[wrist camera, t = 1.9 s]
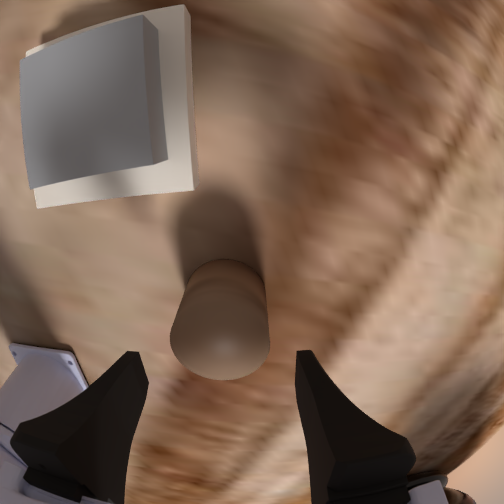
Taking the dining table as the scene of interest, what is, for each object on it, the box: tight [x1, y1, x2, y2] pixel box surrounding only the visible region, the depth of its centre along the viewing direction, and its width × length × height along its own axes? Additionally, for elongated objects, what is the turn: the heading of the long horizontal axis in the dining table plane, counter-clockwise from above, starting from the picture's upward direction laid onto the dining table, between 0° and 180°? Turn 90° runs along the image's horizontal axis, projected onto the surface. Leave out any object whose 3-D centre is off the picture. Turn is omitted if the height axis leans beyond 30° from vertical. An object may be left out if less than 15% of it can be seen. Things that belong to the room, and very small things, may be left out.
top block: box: [20, 15, 168, 189], centre depth 12 cm, size 7×7×2 cm
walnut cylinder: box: [170, 259, 270, 380], centre depth 18 cm, size 5×5×5 cm
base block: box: [26, 4, 200, 209], centre depth 15 cm, size 10×10×2 cm
